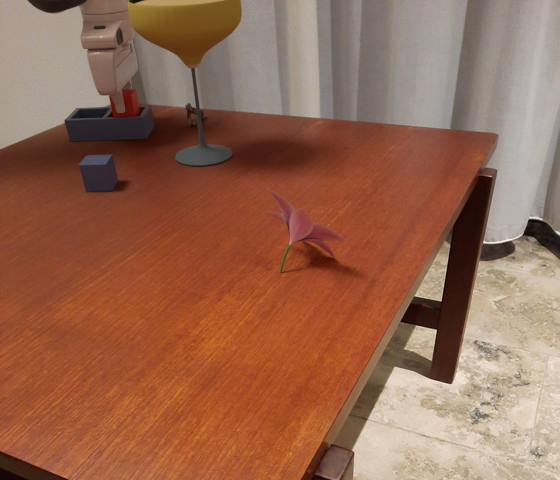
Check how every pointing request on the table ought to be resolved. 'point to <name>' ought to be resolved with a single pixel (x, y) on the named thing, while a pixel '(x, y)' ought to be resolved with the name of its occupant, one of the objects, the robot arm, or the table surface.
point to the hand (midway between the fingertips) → (125, 107)
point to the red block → (127, 104)
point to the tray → (108, 124)
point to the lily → (302, 226)
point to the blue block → (98, 173)
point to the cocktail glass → (188, 48)
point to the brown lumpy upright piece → (193, 110)
